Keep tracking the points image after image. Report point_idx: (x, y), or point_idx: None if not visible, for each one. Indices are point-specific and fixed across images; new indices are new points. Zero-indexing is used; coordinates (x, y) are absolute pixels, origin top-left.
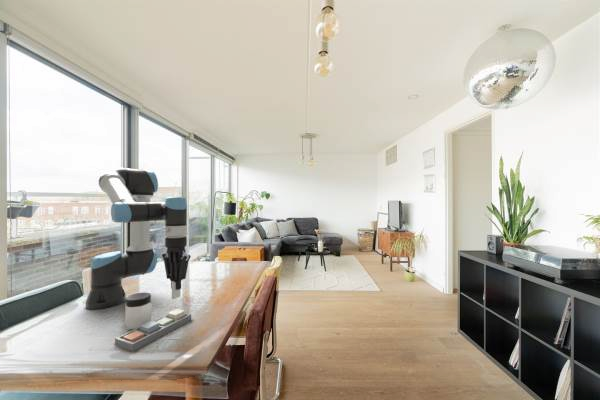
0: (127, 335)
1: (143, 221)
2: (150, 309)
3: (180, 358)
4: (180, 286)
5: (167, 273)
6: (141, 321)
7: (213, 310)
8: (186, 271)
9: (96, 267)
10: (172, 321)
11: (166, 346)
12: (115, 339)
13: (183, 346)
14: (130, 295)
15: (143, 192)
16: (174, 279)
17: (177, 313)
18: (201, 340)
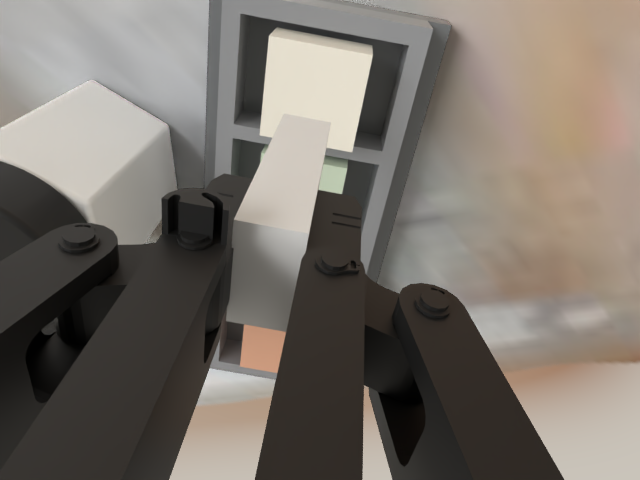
0: (248, 356)
1: None
2: (120, 185)
3: (558, 335)
4: (358, 228)
5: (43, 395)
6: (155, 225)
7: None
8: (539, 449)
9: None
10: (347, 162)
11: (434, 278)
12: (212, 365)
13: (524, 265)
14: None
15: None
16: (225, 291)
17: (346, 123)
18: (606, 202)
